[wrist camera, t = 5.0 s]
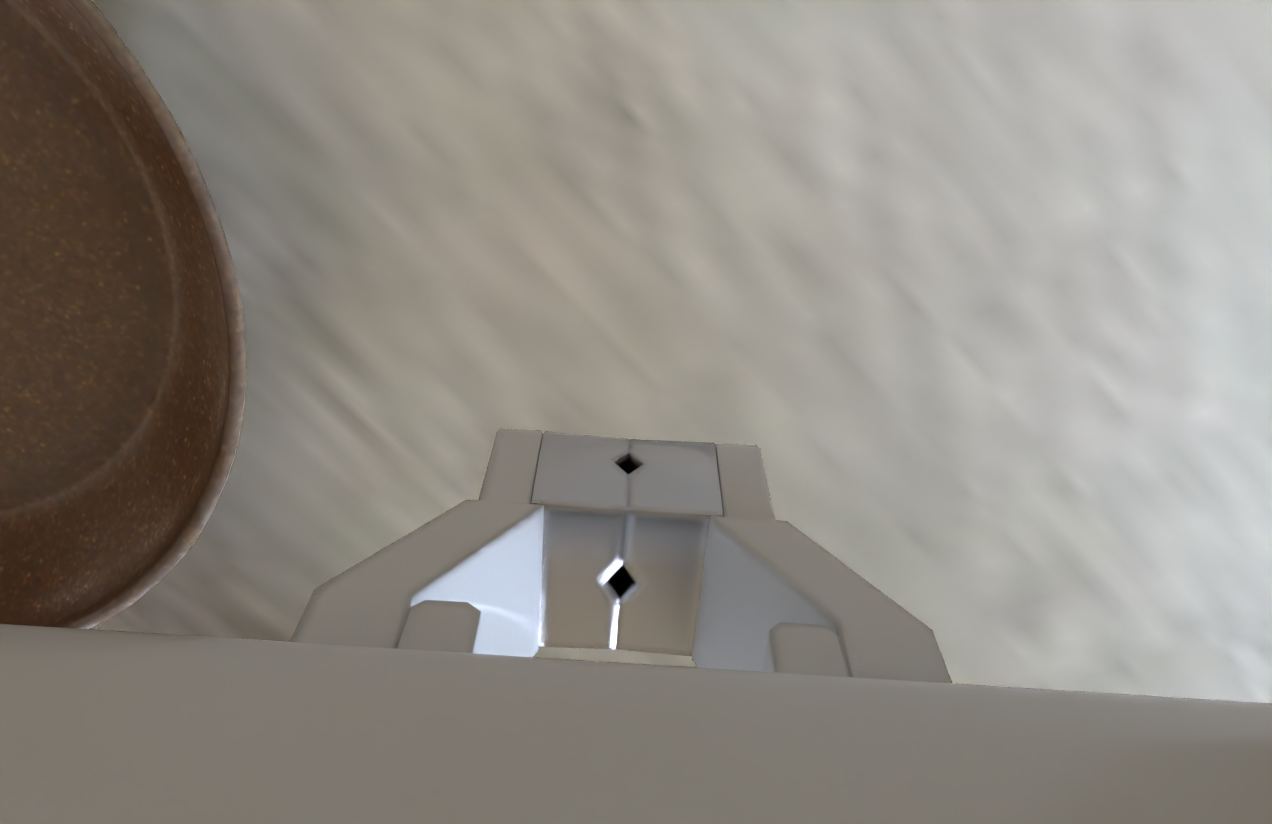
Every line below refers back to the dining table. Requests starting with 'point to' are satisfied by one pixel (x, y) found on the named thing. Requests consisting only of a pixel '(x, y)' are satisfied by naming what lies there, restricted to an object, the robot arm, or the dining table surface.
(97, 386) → the saucer
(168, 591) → the dining table surface
